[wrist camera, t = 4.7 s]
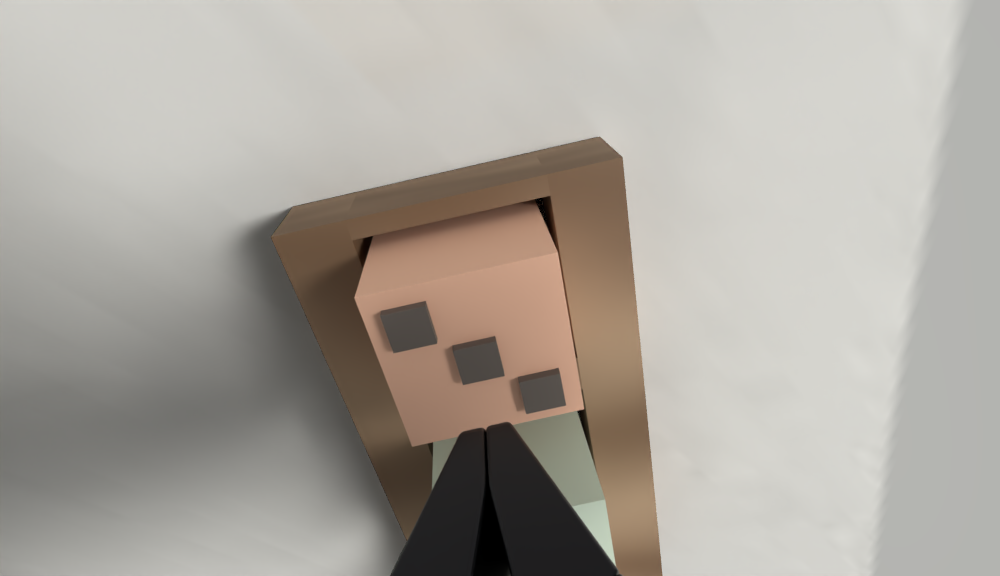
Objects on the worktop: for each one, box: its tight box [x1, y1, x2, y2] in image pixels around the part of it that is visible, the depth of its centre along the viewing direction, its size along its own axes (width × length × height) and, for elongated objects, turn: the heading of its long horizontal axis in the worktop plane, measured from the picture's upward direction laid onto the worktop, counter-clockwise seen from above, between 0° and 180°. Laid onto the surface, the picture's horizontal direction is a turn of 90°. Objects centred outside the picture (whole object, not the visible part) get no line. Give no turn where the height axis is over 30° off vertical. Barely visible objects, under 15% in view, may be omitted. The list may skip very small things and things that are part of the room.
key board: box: [271, 137, 662, 576], centre depth 17 cm, size 17×8×2 cm, turn 12°
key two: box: [432, 411, 616, 566], centre depth 15 cm, size 4×4×4 cm
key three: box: [354, 199, 584, 447], centre depth 13 cm, size 4×4×4 cm
